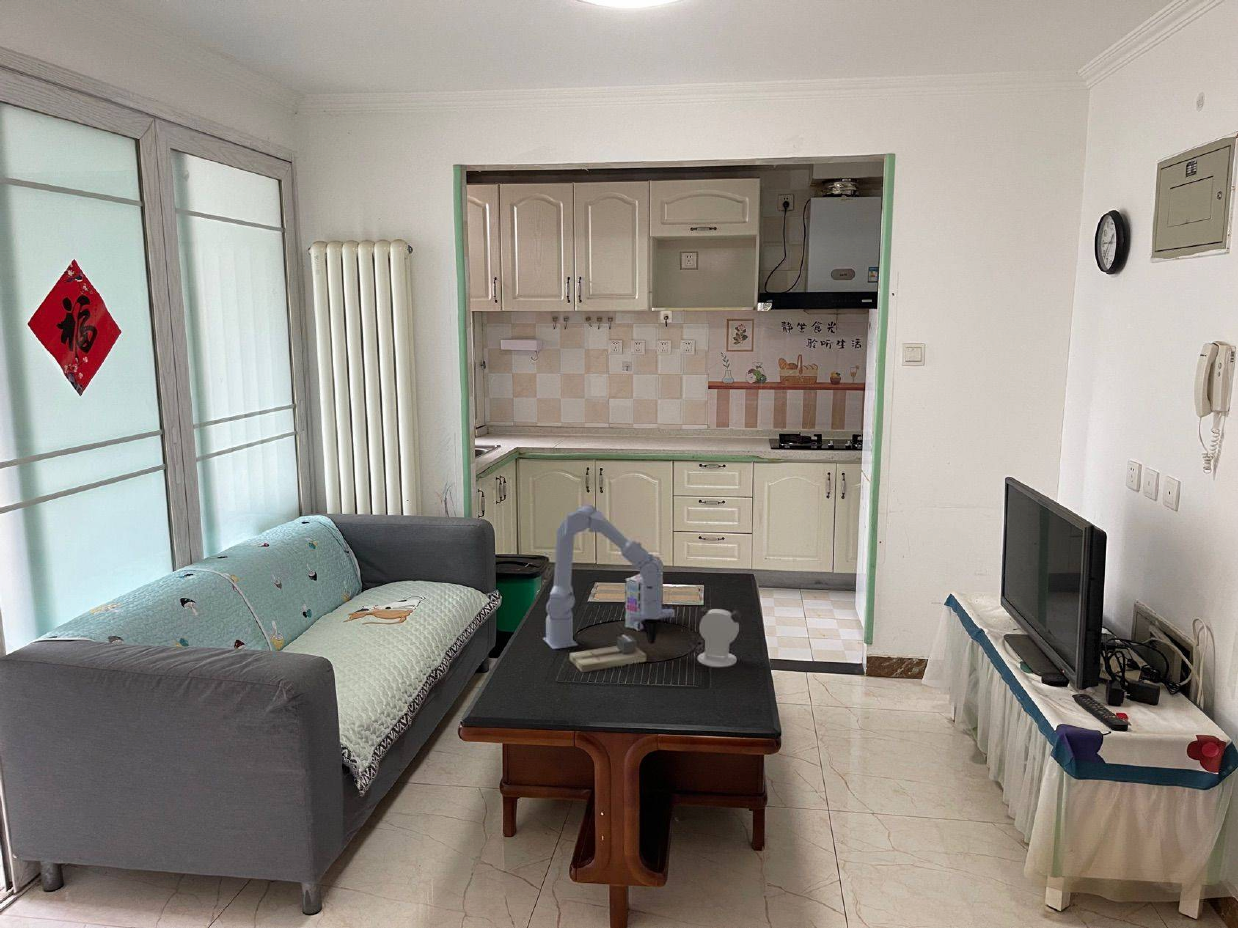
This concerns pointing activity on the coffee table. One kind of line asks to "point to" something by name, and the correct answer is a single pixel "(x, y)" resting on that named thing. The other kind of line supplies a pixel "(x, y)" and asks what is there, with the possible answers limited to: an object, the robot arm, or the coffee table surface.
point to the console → (605, 658)
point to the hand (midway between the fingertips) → (651, 642)
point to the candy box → (636, 599)
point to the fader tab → (626, 644)
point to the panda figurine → (718, 636)
